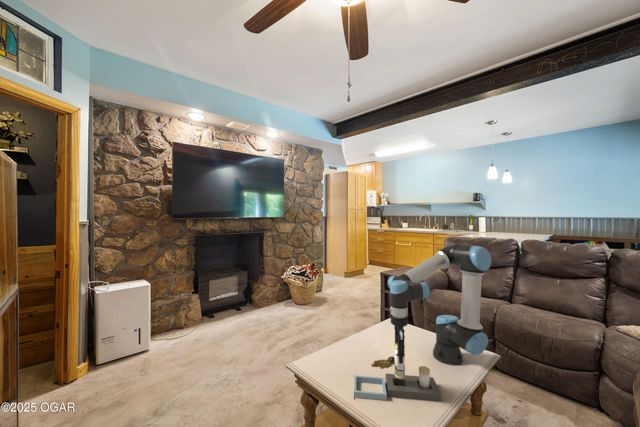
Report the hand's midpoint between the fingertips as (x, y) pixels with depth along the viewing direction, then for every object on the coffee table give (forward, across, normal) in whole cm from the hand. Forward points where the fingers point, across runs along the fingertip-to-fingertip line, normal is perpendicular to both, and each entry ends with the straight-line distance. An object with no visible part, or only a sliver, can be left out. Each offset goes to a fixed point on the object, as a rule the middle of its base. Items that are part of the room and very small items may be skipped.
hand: (399, 365), depth 121 cm
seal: (+12, -19, -6) cm, 24 cm away
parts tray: (+11, +3, -14) cm, 18 cm away
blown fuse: (+5, 0, 0) cm, 5 cm away
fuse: (+11, 0, +11) cm, 15 cm away
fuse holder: (+11, 0, +5) cm, 13 cm away
